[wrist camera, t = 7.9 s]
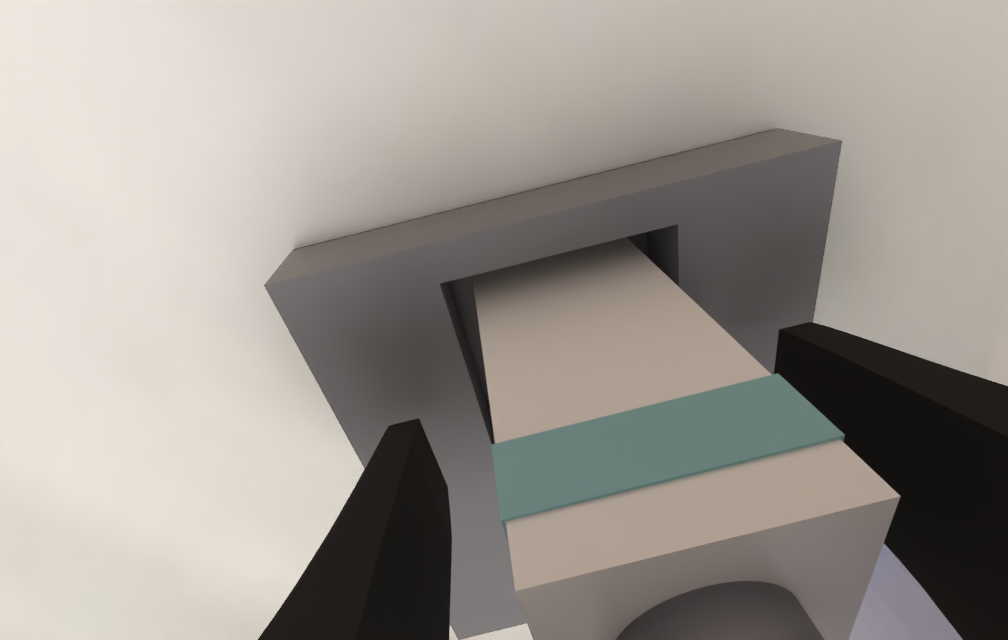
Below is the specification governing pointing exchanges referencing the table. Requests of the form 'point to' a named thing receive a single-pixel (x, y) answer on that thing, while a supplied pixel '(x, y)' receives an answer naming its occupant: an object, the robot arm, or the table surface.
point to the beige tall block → (663, 465)
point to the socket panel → (529, 236)
